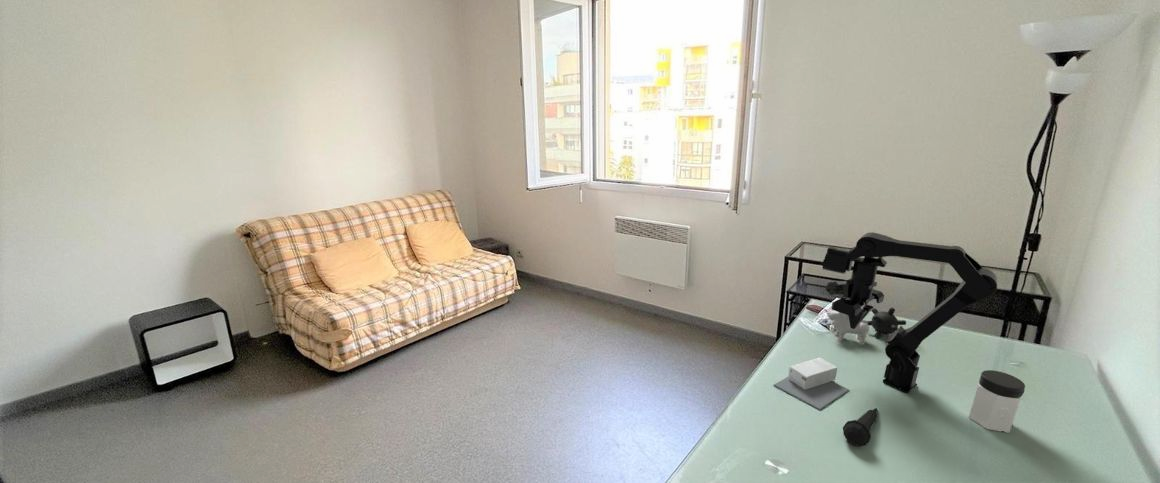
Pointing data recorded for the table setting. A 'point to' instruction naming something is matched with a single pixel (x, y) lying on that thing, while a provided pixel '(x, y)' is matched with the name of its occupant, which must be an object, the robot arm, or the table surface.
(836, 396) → the mat
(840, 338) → the dog figurine
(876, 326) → the toy ball
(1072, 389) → the table surface
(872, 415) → the microphone
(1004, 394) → the jar
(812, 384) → the skincare box
